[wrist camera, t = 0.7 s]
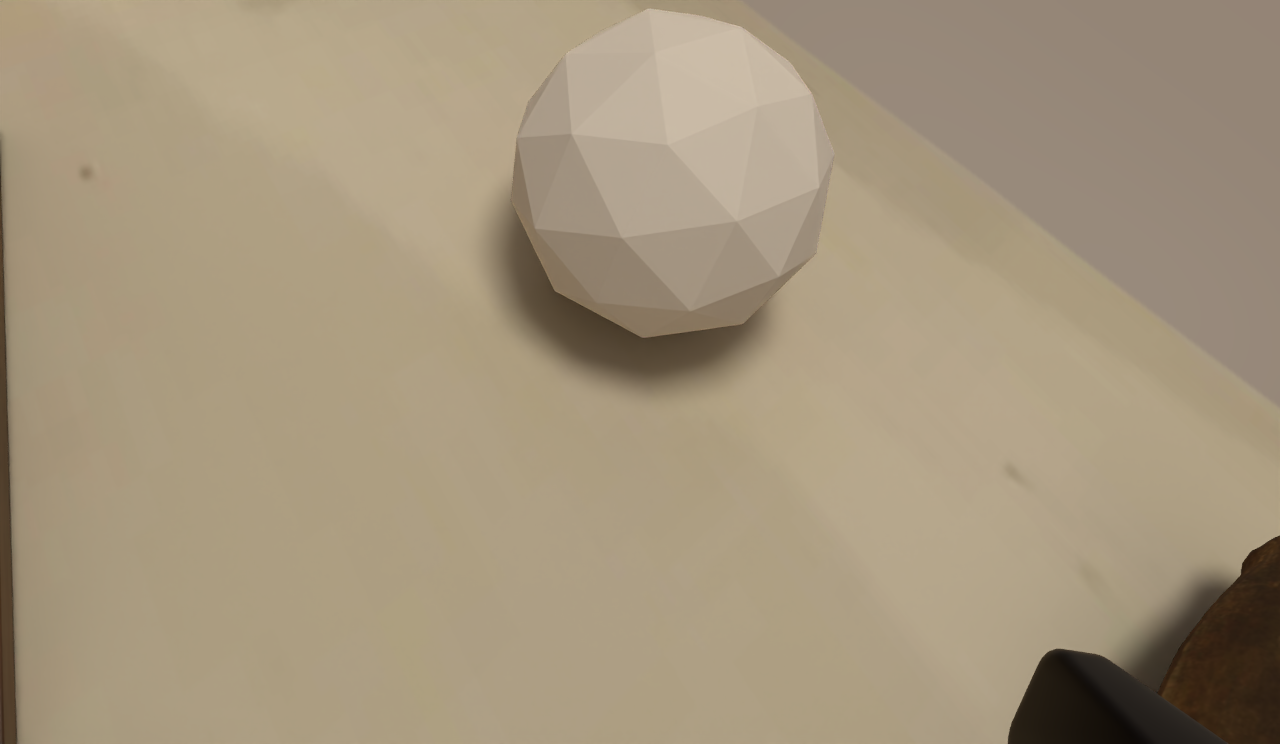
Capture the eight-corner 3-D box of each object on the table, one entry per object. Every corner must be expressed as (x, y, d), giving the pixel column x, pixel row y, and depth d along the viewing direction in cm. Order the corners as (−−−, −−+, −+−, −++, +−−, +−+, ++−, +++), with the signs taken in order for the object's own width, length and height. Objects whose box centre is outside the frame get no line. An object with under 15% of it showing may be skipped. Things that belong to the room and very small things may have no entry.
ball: (549, 289, 31) (494, 9, 28) (819, 251, 31) (798, -38, 27) (530, 416, 25) (453, 68, 21) (875, 369, 24) (857, 6, 21)
